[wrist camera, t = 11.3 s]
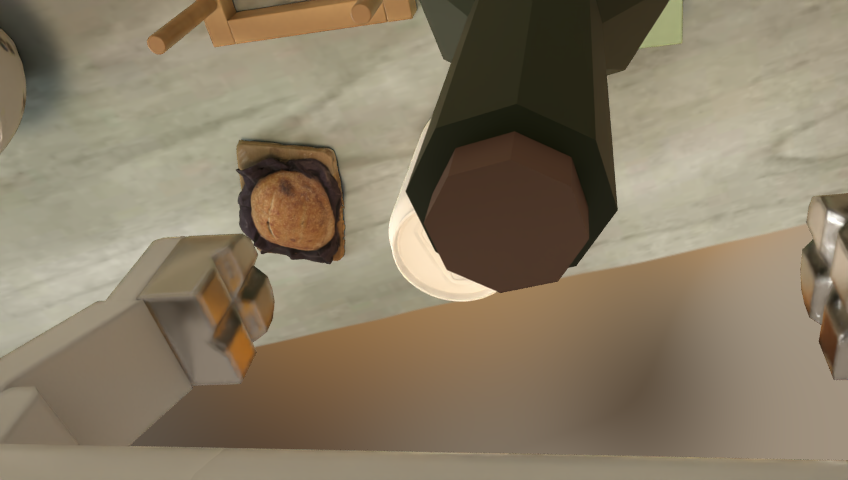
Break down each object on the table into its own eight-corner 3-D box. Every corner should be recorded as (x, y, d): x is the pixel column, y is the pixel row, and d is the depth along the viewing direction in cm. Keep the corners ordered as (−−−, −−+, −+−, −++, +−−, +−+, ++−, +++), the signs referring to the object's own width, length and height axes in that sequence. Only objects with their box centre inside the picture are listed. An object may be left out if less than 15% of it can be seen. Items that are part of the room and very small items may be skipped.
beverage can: (512, 80, 45) (496, 177, 36) (551, 181, 49) (545, 292, 40) (402, 116, 48) (359, 215, 39) (446, 209, 52) (417, 318, 43)
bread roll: (233, 134, 52) (212, 159, 49) (343, 147, 51) (328, 173, 48) (251, 248, 58) (234, 275, 55) (349, 261, 57) (337, 290, 54)
